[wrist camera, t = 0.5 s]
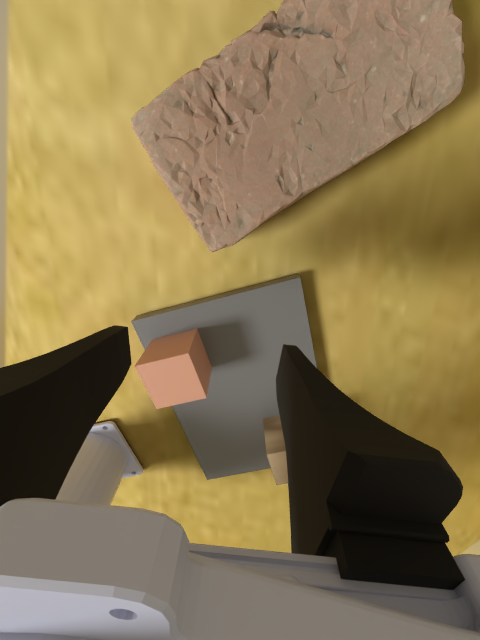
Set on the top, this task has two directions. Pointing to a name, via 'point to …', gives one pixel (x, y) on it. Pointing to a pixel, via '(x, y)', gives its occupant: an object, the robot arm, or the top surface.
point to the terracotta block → (175, 369)
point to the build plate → (235, 367)
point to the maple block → (276, 449)
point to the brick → (298, 106)
